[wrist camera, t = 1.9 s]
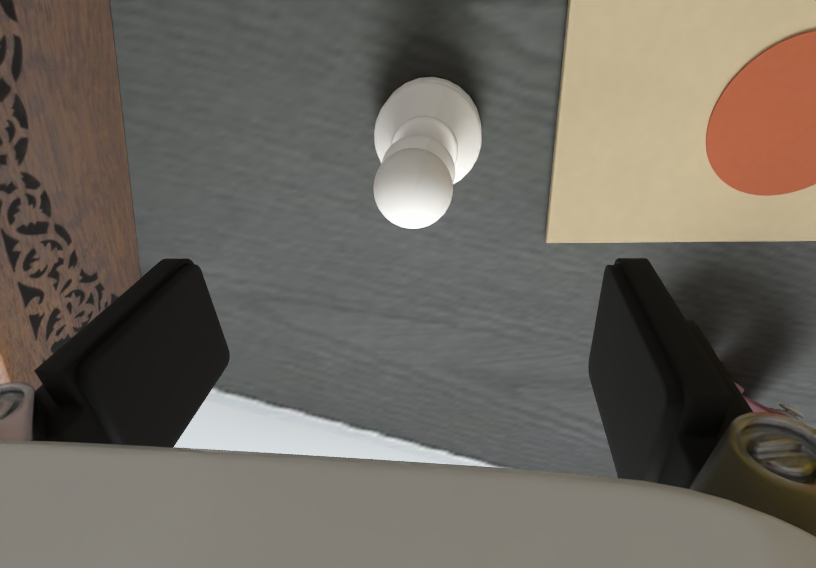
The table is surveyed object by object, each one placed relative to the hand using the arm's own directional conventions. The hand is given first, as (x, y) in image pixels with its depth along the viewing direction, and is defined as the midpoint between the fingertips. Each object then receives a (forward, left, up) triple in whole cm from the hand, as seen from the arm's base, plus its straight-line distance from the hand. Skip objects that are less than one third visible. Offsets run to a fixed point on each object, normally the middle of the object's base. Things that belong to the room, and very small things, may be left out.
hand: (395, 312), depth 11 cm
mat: (0, +16, -15) cm, 22 cm away
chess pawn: (0, 0, -15) cm, 15 cm away
